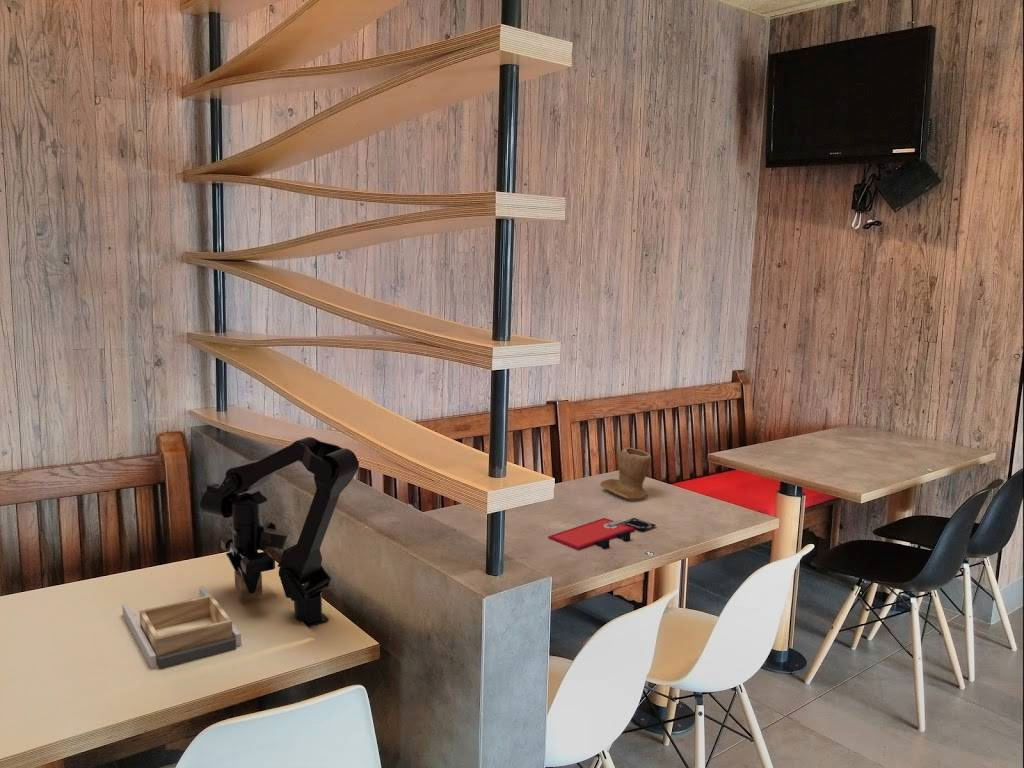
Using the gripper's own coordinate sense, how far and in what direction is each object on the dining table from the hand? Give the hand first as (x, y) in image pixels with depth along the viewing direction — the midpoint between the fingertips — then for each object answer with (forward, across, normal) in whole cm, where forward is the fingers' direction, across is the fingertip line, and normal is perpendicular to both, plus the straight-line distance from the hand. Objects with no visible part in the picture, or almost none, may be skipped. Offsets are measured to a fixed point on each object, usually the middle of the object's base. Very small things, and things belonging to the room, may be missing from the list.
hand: (248, 589), depth 183 cm
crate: (+3, -11, +16) cm, 20 cm away
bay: (+3, -6, +16) cm, 17 cm away
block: (+1, 0, 0) cm, 1 cm away
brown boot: (+4, +14, -125) cm, 126 cm away
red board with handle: (+4, -9, -96) cm, 97 cm away
